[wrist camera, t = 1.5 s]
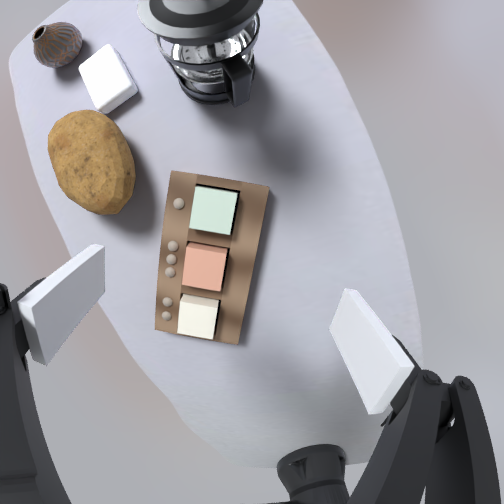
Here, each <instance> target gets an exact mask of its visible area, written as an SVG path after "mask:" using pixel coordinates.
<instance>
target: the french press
mask: <svg viewBox="0 0 504 504" xmlns="http://www.w3.org/2000/svg"><path fill="white" fill-rule="evenodd" d="M262 4H263V0H139V1H138V5H137V11H138V16H139V18H140V20H141V22H142V24H143V25H144V26H145V27H146V28H147V29H148V30H149V31H151V32H153V33H154V36H155V42H156V44H157V46H158V48H159V50H160V51H161V53H162V55H163V56H164V58H165V59H166V61H167V62H168V64H169V66H170V67H171V69H172V70H173V72H174V74H175V75H176V77H177V78H178V80H179V84H180V86H181V88H182V90H183V91H184V92H185V93H186V95H188V96H189V97H190V98H191V99H193V100H195V101H197V102H200V103H204V104H211V105H215V104H223V103H228V102H230V101H231V103H232V105H233V106H234V107H237V106H238V105H240V104H242V103H244V102H246V101H248V100H249V95H250V88H251V83H252V81H253V79H254V74H255V65H254V54H253V46H254V44H255V43H256V41H257V38H258V33H259V27H260V19H259V15H258V10H259V9H260V7H261V5H262ZM255 24H256V28H257V30H256V33H255V35H254V32H255ZM160 37H161V38H162V39H164V40H166V41H168V42H170V43H173V47H172V51H171V56H169V55H168V54H166V53H165V52H164V51H163V49H162V47H161V44H160ZM172 64H173V65H172ZM190 81H191V82H195V83H199V84H218V83H223V82H224V86H225V92H222V93H217V94H209V93H204V92H201V91H199V90H197V89H196V88H195V87H194V86H193V85H192V84H191V82H190Z"/></svg>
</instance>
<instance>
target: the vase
mask: <svg viewBox="0 0 504 504" xmlns="http://www.w3.org/2000/svg"><path fill="white" fill-rule="evenodd" d="M32 40H33V42H34V54H35V57H36V59H37V60H38V61H39V62H40V63H41V64H43V65H45V66H47V67H52V68H57V67H62V66H64V65H66V64H68V63H70V62H71V61H72V60H73V59H74V58H75V57H76V56H77V55H78V53H79V51H80V49H81V46H82V36H81V33H80V32H79V30H78V29H77V28H76V27H75V26H74V25H72V24H70V23H66V22H57V23H53V24H50V25H43V26H41V27H39V28H38V29H37V30H36V31H35V32H34V34H33V37H32Z"/></svg>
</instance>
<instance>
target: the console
mask: <svg viewBox="0 0 504 504" xmlns="http://www.w3.org/2000/svg"><path fill="white" fill-rule="evenodd" d="M199 184H204V185H210V186H216V187H222V188H228V189H234V190H239V191H240V196H239V201H238V207H237V212H236V218H235V223H234V229H233V231H231V232H230V235H227V234H222V233H216V232H210V231H204V230H198V229H193V228H189V225H190V218H191V212H192V205H193V199H194V193H195V187H197V186H199ZM268 192H269V187H268V186H262V185H257V184H252V183H247V182H241V181H236V180H230V179H224V178H218V177H212V176H206V175H199V174H193V173H186V172H179V171H171V175H170V181H169V187H168V194H167V200H166V207H165V214H164V222H163V230H162V239H161V248H160V258H159V269H158V281H157V295H156V312H155V330H159V331H164V332H168V333H173V334H178V335H183V336H189V337H194V338H200V339H205V340H211V341H217V342H224V343H230V344H237V345H238V341H239V336H240V331H241V326H242V321H243V317H244V312H245V307H246V302H247V297H248V292H249V287H250V282H251V277H252V272H253V267H254V262H255V257H256V252H257V247H258V242H259V237H260V232H261V227H262V222H263V217H264V212H265V207H266V202H267V197H268ZM190 241H193V242H199V243H205V244H210V245H216V246H222V247H228V248H230V251H229V257H228V262H227V268H226V274H225V280H224V281H222V284H221V290H220V291H214V290H209V289H203V288H197V287H192V286H187V285H182V278H183V270H184V261H185V254H186V247H187V245H188V244H189V243H190ZM183 293H185V294H190V295H196V296H201V297H207V298H212V299H218V300H221V304H220V310H219V316H218V322H217V325H215V328H214V334H213V339H207V338H201V337H195V336H190V335H185V334H180V333H177V330H178V318H179V307H180V300H181V298H182V296H183Z"/></svg>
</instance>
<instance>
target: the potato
mask: <svg viewBox="0 0 504 504" xmlns="http://www.w3.org/2000/svg"><path fill="white" fill-rule="evenodd" d="M48 152H49V156H50V160H51V163H52V166H53V169H54V171H55V174H56V177H57V180H58V184H59V186H60V188H61V189H62V190H63V192H64V193H65V194H66V196H67V197H68V198H69V199H71V200H72V201H74V202H75V203H77V204H78V205H80V206H81V207H83V208H85V209H86V210H88V211H91V212H93V213H96V214H101V215H108V214H118V213H119V212H120V210H121V209H122V208H123V207H124V205H125V204H126V203H127V202H128V200H129V199H130V198H131V196H132V194H133V189H134V183H135V178H136V174H135V165H134V160H133V157H132V154H131V151H130V148H129V146H128V144H127V142H126V140H125V137H124V136H123V134H122V132H121V130H120V129H119V127H118V126H117V125H116V124H115V123H114V121H112V120H111V119H109V118H108V117H107V116H105V115H104V114H101V113H99V112H96V111H93V110H81V111H75V112H72V113H69V114H67V115H66V116H64V117H63V118H61V119H60V120H58V121H57V122H56V123H55V125H54V126H53V128H52V130H51V131H50V133H49V135H48Z"/></svg>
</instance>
